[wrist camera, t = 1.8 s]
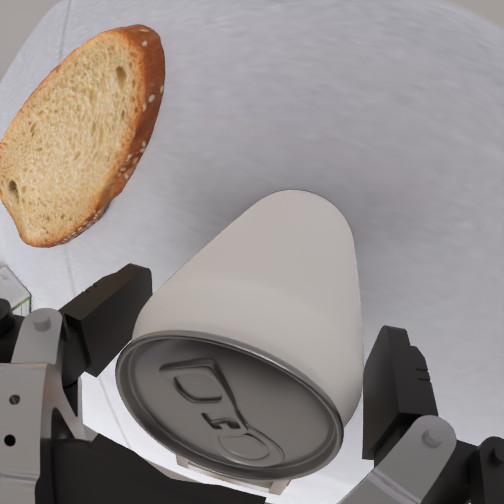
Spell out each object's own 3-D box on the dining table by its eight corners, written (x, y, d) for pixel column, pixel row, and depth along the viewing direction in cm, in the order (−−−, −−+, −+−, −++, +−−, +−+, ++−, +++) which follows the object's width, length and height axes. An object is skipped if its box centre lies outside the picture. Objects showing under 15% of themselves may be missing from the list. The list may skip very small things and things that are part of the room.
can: (266, 308, 19) (185, 479, 8) (221, 212, 17) (62, 335, 7) (368, 279, 16) (382, 480, 6) (329, 169, 15) (307, 267, 4)
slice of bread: (182, 23, 14) (148, 4, 10) (145, 284, 21) (115, 310, 18) (24, 48, 17) (-7, 47, 13) (14, 224, 24) (-13, 236, 21)
